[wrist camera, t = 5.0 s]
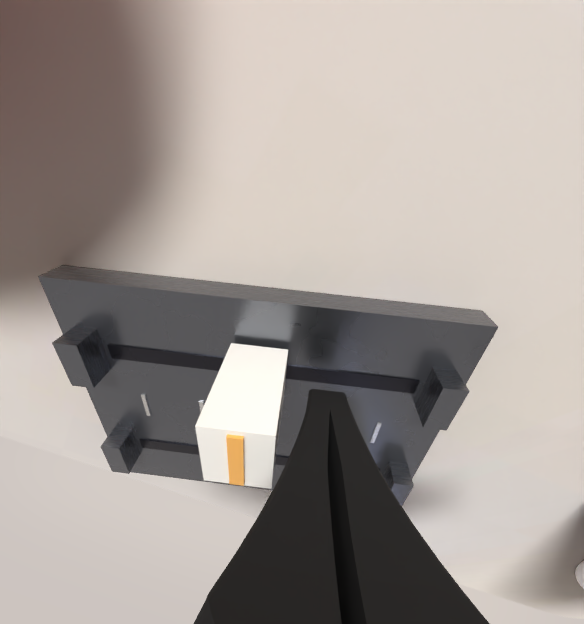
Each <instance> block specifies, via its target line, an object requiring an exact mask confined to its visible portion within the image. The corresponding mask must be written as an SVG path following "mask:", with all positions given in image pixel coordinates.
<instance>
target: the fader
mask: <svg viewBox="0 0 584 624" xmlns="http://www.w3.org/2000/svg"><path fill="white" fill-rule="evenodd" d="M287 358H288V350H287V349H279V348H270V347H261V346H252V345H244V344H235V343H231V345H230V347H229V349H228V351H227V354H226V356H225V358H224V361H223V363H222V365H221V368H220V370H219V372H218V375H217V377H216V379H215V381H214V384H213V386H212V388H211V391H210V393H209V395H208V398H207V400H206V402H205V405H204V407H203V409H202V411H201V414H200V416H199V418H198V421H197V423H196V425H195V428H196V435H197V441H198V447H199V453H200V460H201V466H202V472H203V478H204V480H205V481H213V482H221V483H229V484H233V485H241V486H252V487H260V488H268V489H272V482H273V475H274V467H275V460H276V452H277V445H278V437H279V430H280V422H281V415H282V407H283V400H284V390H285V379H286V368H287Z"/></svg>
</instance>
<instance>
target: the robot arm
mask: <svg viewBox="0 0 584 624" xmlns="http://www.w3.org/2000/svg"><path fill="white" fill-rule="evenodd" d="M194 624H489V623H488V621H487V620H486V619H485V618H484V617H483V615H482V614H481V613H480V612H479V611H478V609H477V608H476V607H475V606H474V604H473V603H472V602H471V601H470V599H469V598H468V597H467V596H466V594H465V593H464V592H463V591H462V590H461V588H460V587H459V586H458V584H457V583H456V582H455V580H454V579H453V578H452V577H451V575H450V574H449V573H448V571H447V570H446V569H445V568H444V566H443V565H442V564H441V562H440V561H439V560H438V558H437V557H436V555H435V554H434V553H433V551H432V550H431V548H430V547H429V546H428V544H427V543H426V542H425V540H424V539H423V537H422V536H421V535H420V533H419V532H418V530H417V529H416V528H415V526H414V525H413V523H412V522H411V520H410V519H409V517H408V516H407V514H406V513H405V511H404V510H403V508H402V507H401V505H400V503H399V502H398V500H397V499H396V497H395V495H394V494H393V492H392V491H391V489H390V487H389V486H388V484H387V482H386V480H385V479H384V477H383V475H382V473H381V472H380V470H379V468H378V466H377V464H376V462H375V461H374V459H373V457H372V455H371V453H370V451H369V449H368V447H367V445H366V443H365V441H364V439H363V436H362V434H361V432H360V430H359V428H358V426H357V423H356V421H355V419H354V416H353V414H352V411H351V409H350V406H349V403H348V400H347V397H346V395H345V394H344V392H336V391H327V390H318V389H311V390H309V394H308V400H307V406H306V412H305V416H304V419H303V422H302V425H301V428H300V431H299V434H298V437H297V439H296V442H295V444H294V446H293V449H292V451H291V454H290V456H289V458H288V461H287V463H286V465H285V467H284V469H283V471H282V473H281V475H280V477H279V479H278V481H277V483H276V485H275V487H274V489H273V491H272V493H271V495H270V496H269V498H268V500H267V502H266V504H265V506H264V507H263V509H262V511H261V513H260V514H259V516H258V518H257V520H256V522H255V523H254V525H253V526H252V528H251V529H250V531H249V533H248V534H247V536H246V538H245V539H244V541H243V542H242V544H241V546H240V547H239V549H238V551H237V552H236V554H235V555H234V557H233V558H232V560H231V561H230V563H229V564H228V566H227V567H226V569H225V570H224V572H223V573H222V574H221V576H220V577H219V579H218V580H217V582H216V583H215V585H214V586H213V588H212V589H211V591H210V592H209V594H208V596H207V599H206V601H205V603H204V605H203V607H202V609H201V611H200V612H199V614H198V616H197V619H196V620H195V622H194Z"/></svg>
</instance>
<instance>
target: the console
mask: <svg viewBox="0 0 584 624" xmlns="http://www.w3.org/2000/svg"><path fill="white" fill-rule="evenodd" d="M38 277H39V280H40V282H41V284H42V286H43V289H44V291H45V293H46V296H47V298H48V300H49V303H50V305H51V307H52V310H53V312H54V314H55V317H56V319H57V321H58V323H59V326H60V328H61V330H62V333H63V335H62V336H61V337H59V338H58V339H57V340H55V341H54V342H53V343H52V344H53V346H54V348H55V350H56V352H57V354H58V356H59V359H60V361H61V363H62V365H63V367H64V369H65V371H66V374H67V376H68V378H69V380H70V382H71V384H72V385H73V386H81V387H86V388H87V390H88V393H89V395H90V397H91V400H92V402H93V404H94V407H95V409H96V411H97V414H98V416H99V418H100V421H101V423H102V425H103V427H104V430H105V432H106V434H107V439H106V440H105V441H104V443H103V444H102V446H101V448H102V450H103V453H104V455H105V457H106V459H107V461H108V463H109V465H110V468H111V470H112V471H113V472H121V473H128V474H129V473H130V472H134V473H142V474H150V475H158V476H165V477H173V478H181V479H189V480H197V481H205V480H204V478H203V472H202V466H201V460H200V453H199V447H198V441H197V435H196V428H195V425H196V423H197V421H198V418H199V416H200V414H201V411H202V409H203V407H204V405H205V402H206V400H207V398H208V395H209V393H210V391H211V388H212V386H213V384H214V381H215V379H216V377H217V375H218V372H219V370H220V368H221V365H222V363H223V361H224V358H225V356H226V354H227V351H228V349H229V347H230V345H231V343H235V344H244V345H252V346H261V347H270V348H279V349H287V350H288V358H287V368H286V379H285V390H284V400H283V407H282V415H281V422H280V430H279V437H278V445H277V452H276V460H275V467H274V475H273V482H272V489H268V488H260V487H252V486H244V487H252V488H260V489H267V490H273V489H274V487H275V485H276V483H277V481H278V479H279V477H280V475H281V473H282V471H283V469H284V467H285V465H286V463H287V461H288V458H289V456H290V454H291V451H292V449H293V446H294V444H295V442H296V439H297V437H298V434H299V431H300V428H301V425H302V422H303V419H304V416H305V412H306V406H307V400H308V394H309V390H311V389H318V390H327V391H336V392H344V394H345V395H346V397H347V400H348V403H349V406H350V409H351V411H352V414H353V416H354V419H355V421H356V423H357V426H358V428H359V430H360V432H361V434H362V436H363V439H364V441H365V443H366V445H367V447H368V449H369V451H370V453H371V455H372V457H373V459H374V461H375V462H376V464H377V466H378V468H379V470H380V472H381V473H382V475H383V477H384V479H385V480H386V482H387V484H388V486H389V487H390V489H391V491H392V492H393V494H394V495H395V497H396V499H397V500H398V502H399V503H400V505H401V506H402V505H403V503H404V501H405V500H406V498H407V496H408V495H409V493H410V491H411V489H412V488H413V482H412V478H413V476H414V474H415V473H416V471H417V469H418V467H419V466H420V464H421V462H422V460H423V459H424V457H425V455H426V453H427V452H428V450H429V448H430V446H431V444H432V443H433V441H434V439H435V437H436V436H437V434H438V432H439V430H447V428H448V427H449V425H450V423H451V422H452V420H453V418H454V417H455V415H456V413H457V411H458V410H459V408H460V406H461V405H462V403H463V401H464V400H465V398H466V396H467V394H468V393H469V390H468V388H467V387H466V383H467V381H468V380H469V378H470V376H471V374H472V372H473V371H474V369H475V367H476V365H477V364H478V362H479V360H480V358H481V357H482V355H483V353H484V351H485V350H486V348H487V346H488V344H489V343H490V341H491V339H492V337H493V336H494V334H495V332H496V330H497V329H498V326H497V325H496V324H495V323H494V322H493V321H492V320H491V319H490V318H489V317H488V316H487V315H486V314H485V313H484V312H483V311H480V310H471V309H461V308H452V307H443V306H434V305H425V304H415V303H406V302H397V301H388V300H378V299H369V298H360V297H351V296H342V295H332V294H323V293H314V292H305V291H295V290H286V289H277V288H268V287H259V286H249V285H240V284H231V283H222V282H212V281H203V280H194V279H185V278H176V277H166V276H157V275H148V274H139V273H129V272H120V271H111V270H102V269H93V268H83V267H74V266H65V265H61V266H59V267H57V268H55V269H53V270H51V271H49V272H47V273H44V274H42V275H40V276H38ZM205 482H212V483H220V484H228V485H233V484H229V483H221V482H213V481H205ZM236 486H241V485H236Z"/></svg>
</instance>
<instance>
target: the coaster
mask: <svg viewBox="0 0 584 624" xmlns="http://www.w3.org/2000/svg"><path fill="white" fill-rule="evenodd" d="M575 576H576V579H577V581H578V583H579V584H580V585H581V587H582V588H583V589H584V560H583V561H582V562H581V563H580V564H579V565H578V566H577V568H576V571H575Z"/></svg>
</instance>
